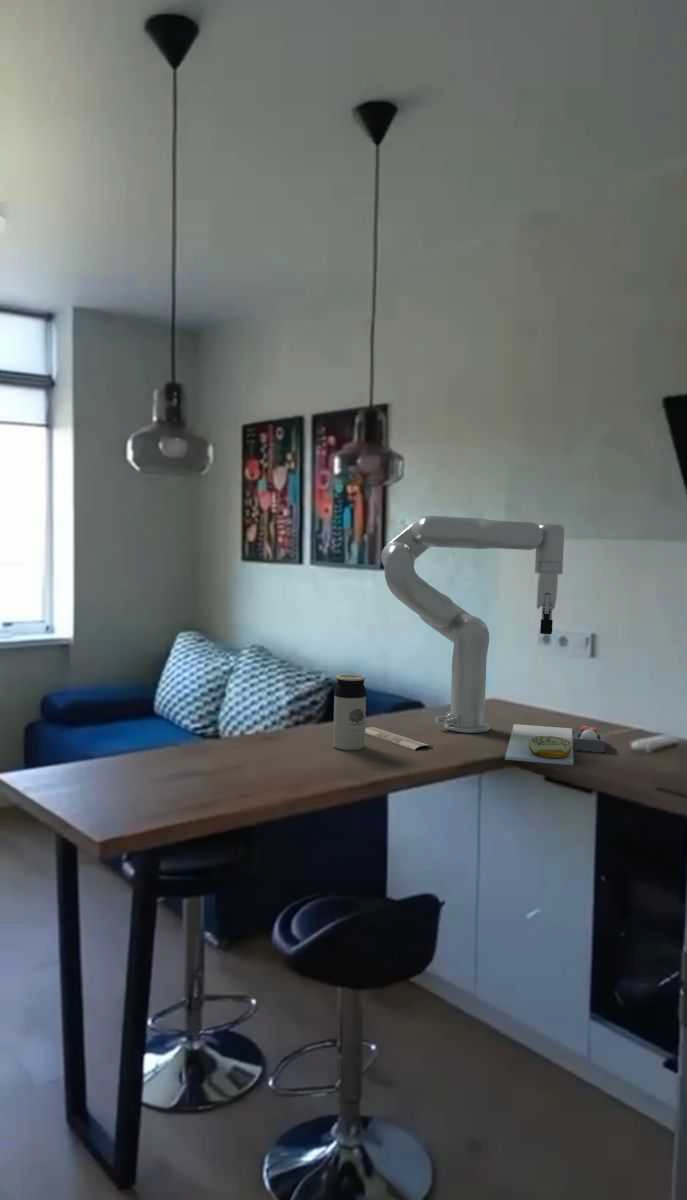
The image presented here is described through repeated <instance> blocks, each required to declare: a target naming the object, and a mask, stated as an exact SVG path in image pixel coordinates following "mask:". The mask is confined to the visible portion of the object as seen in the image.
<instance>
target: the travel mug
mask: <svg viewBox="0 0 687 1200" xmlns="http://www.w3.org/2000/svg"><path fill="white" fill-rule="evenodd" d="M335 679H336V683H337V684H336V686H335V687H334V697H333V698H334V699H333V702H334V703H333V737H332V738H333V739H332V740H333V741H332V744H333V747H334V748H335V749H337V750H340V751H358V750H362V749H364V748H365V747H366V743H365V742H366V734H365V728H366V715H367V714H366V711H367V708H366V707H367V689H366V687H365V685H364V684H365V680H366V676H365V675H362V674H356V673H355V674H353V673H349V674H348V673H347V674H345V673H343V674H337V675H335Z"/></svg>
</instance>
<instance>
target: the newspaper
mask: <svg viewBox="0 0 687 1200" xmlns="http://www.w3.org/2000/svg"><path fill="white" fill-rule="evenodd" d="M365 735H366V736H369V737H373V738H376V739H378V740H382V741H385V742H386V743H387V742H388V743H391V744H394V745H396V746H400V747H402V748H406V749H408V750H410V751H411V750H412V751H413V752H414V751H416V749H417V748H419V747H420V748H421V747H426V748H429V749H433V748H434V746H433V745H430V744H426V743H424V742H420V741H417V740H414V739H411V738H408V737H406V736H402V735H399V734H396V733H392V732H390V731H387V730H385V729H382V728H381V729H380V728H377V727H374V726H371V727H370V726H368V727H365Z"/></svg>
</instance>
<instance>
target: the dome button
mask: <svg viewBox="0 0 687 1200" xmlns="http://www.w3.org/2000/svg"><path fill="white" fill-rule="evenodd" d="M596 734H597V732H596V733H595V732H594V731H593V730H591V729H587V730H584V731H583V732H582V734H581V737H580V738H582V739H595V740H598V738H597V735H596Z"/></svg>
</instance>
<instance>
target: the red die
mask: <svg viewBox="0 0 687 1200" xmlns="http://www.w3.org/2000/svg"><path fill="white" fill-rule="evenodd" d="M579 727H580V728H579V733H582V732H583V731H584V730H587V729H591V730H593V731H594V732H595V733H596V734H597V727H596V726H589V725H580V726H579Z"/></svg>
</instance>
